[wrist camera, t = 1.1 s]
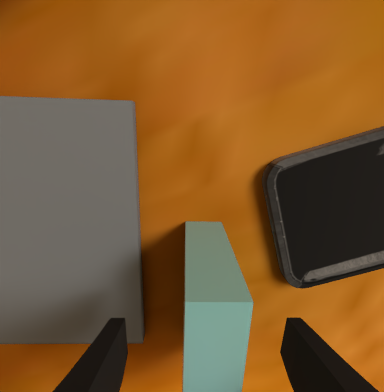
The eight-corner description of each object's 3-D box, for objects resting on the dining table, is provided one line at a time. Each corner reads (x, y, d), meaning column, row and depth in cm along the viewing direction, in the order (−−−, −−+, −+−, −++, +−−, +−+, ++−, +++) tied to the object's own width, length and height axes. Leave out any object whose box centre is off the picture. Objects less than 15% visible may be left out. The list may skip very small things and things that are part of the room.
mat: (144, 334, 14) (142, 343, 13) (-47, 335, 14) (-57, 344, 13) (134, 102, 10) (131, 100, 10) (-135, 93, 10) (-155, 90, 9)
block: (213, 333, 14) (231, 467, 9) (183, 333, 14) (181, 469, 8) (221, 221, 12) (253, 302, 6) (185, 220, 12) (185, 302, 6)
